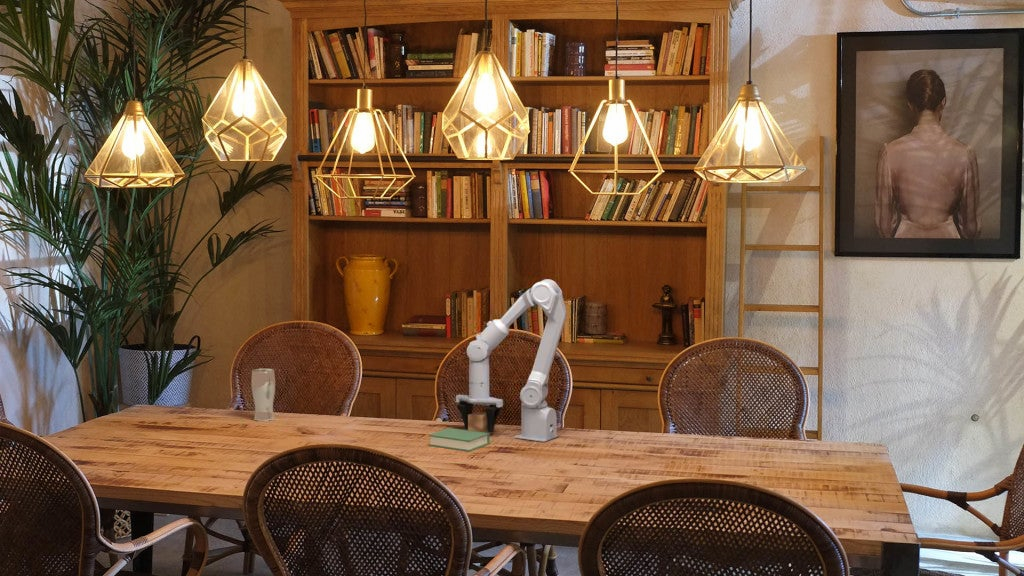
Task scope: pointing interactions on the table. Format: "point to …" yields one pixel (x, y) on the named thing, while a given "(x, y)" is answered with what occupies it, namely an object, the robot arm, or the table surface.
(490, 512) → the table surface
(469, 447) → the green book
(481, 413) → the brown wooden block
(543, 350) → the robot arm
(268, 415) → the beer glass
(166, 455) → the table surface
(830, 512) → the table surface
